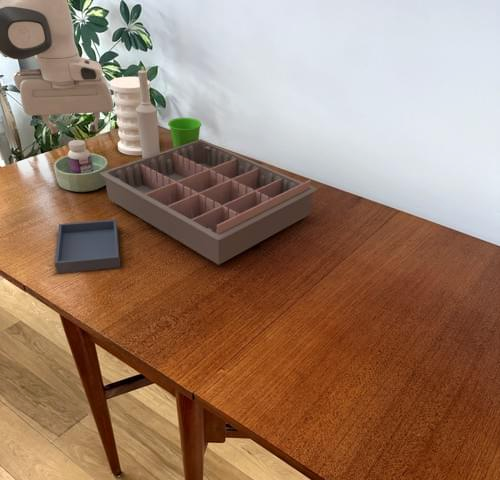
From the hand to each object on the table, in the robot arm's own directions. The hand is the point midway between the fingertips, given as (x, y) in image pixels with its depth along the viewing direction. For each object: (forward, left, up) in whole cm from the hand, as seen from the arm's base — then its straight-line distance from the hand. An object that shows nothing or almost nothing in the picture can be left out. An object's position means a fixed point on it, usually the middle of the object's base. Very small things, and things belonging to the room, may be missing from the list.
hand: (75, 131), depth 113 cm
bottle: (+18, +3, -13) cm, 22 cm away
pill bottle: (0, 0, -12) cm, 12 cm away
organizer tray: (+29, -21, -13) cm, 38 cm away
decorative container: (+15, +21, -13) cm, 29 cm away
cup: (+28, +8, -13) cm, 32 cm away
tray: (+1, -33, -13) cm, 35 cm away
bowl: (0, 0, -13) cm, 13 cm away
